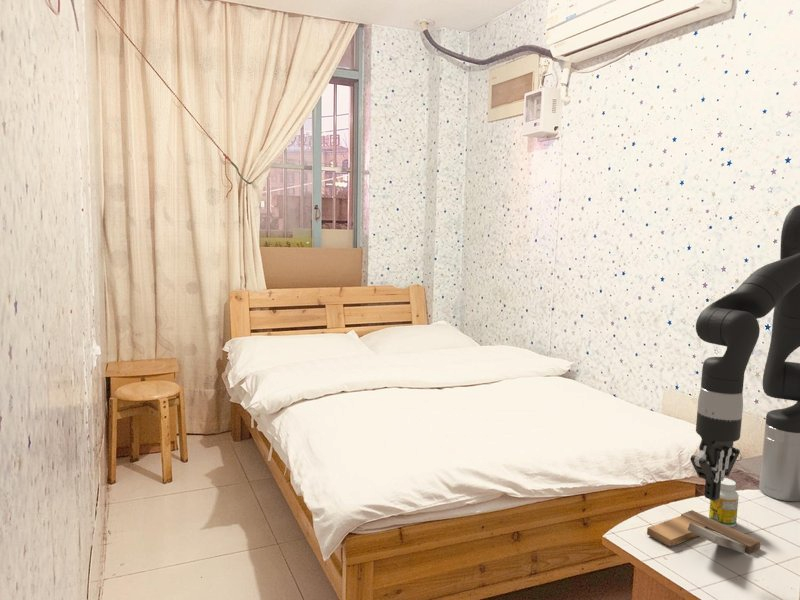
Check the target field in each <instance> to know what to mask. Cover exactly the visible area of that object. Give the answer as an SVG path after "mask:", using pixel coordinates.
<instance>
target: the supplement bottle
mask: <svg viewBox="0 0 800 600" xmlns="http://www.w3.org/2000/svg"><path fill="white" fill-rule="evenodd" d="M736 488H737V482H736V481H734V480H733V479H731V478H728V477H724V480H723V481H721V487H720V498H719V499H717V500H715V501H712V500H710V499H709V509H708V510H709V512H708V518H710V519H713V520H715V521H717V522H719V523H721V524H724V525H726V526H728V527H730V528H734V527H735V526H737V525H736V524H737V517H738V507H739V494H738V492H737V491H736Z"/></svg>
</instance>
